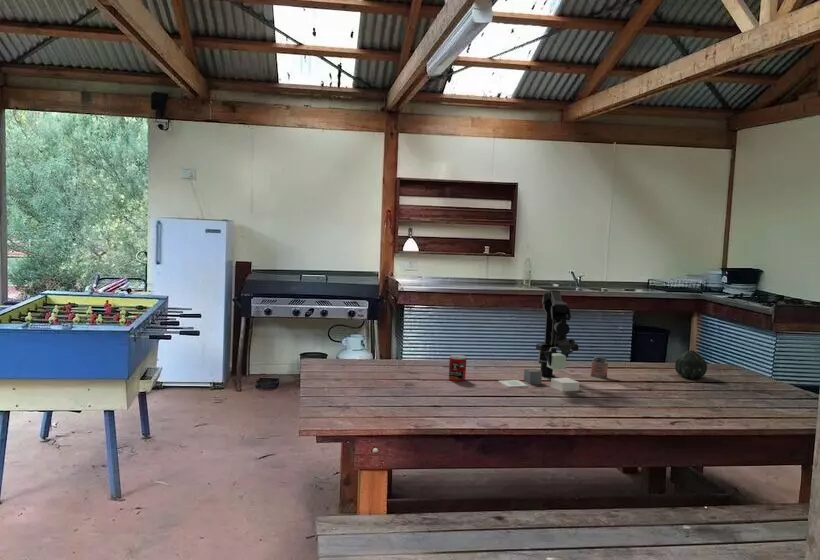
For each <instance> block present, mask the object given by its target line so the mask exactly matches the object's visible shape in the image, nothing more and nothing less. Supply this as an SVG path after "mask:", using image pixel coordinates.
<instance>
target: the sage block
mask: <svg viewBox="0 0 820 560" xmlns="http://www.w3.org/2000/svg"><path fill="white" fill-rule="evenodd" d="M566 365H567V359H566V356H565V355H562V354H561V352H557V353H552V358H551V366H549V364H548V361H547V367H549V368H551V369H553V371H554V370H556V371H557V370H566Z"/></svg>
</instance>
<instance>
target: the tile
mask: <svg viewBox="0 0 820 560" xmlns="http://www.w3.org/2000/svg"><path fill="white" fill-rule="evenodd" d="M498 383H499V384H501V385H503V386H505V387H506V388H526V387H527V388H528V387H529V384H527V383H524V381H521V380H518V379H512V380H511V379H510V380H505V379H504V380H498Z"/></svg>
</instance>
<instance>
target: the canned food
mask: <svg viewBox="0 0 820 560" xmlns="http://www.w3.org/2000/svg"><path fill="white" fill-rule="evenodd" d="M448 363H449V364H448V380H449V381H452V382H464V381H465V380H466V373H467V371H466V370H467V356H466V355H462V354H451V355H449V361H448Z"/></svg>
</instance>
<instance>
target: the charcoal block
mask: <svg viewBox="0 0 820 560" xmlns="http://www.w3.org/2000/svg"><path fill="white" fill-rule="evenodd" d="M523 371H524V372H523V383H524V382H525V384H527V385H542V381H543V379H542V378H543V376H542V371H540V369H537V368H524V370H523Z"/></svg>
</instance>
